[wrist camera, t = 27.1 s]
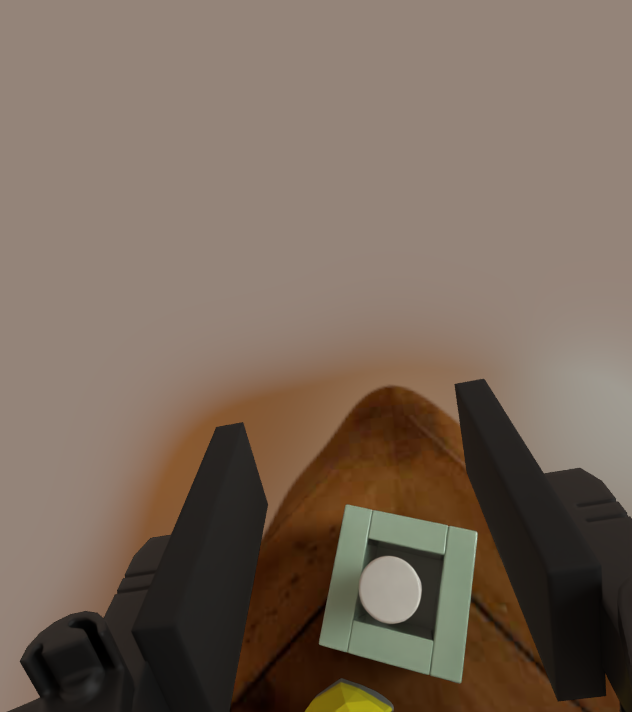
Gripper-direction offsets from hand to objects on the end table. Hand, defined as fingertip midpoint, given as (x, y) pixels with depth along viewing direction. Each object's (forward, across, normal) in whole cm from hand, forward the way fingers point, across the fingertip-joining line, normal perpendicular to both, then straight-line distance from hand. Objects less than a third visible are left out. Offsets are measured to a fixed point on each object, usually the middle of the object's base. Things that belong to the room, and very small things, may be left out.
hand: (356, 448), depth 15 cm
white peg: (+9, 0, -14) cm, 16 cm away
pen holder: (+9, 0, -14) cm, 17 cm away
